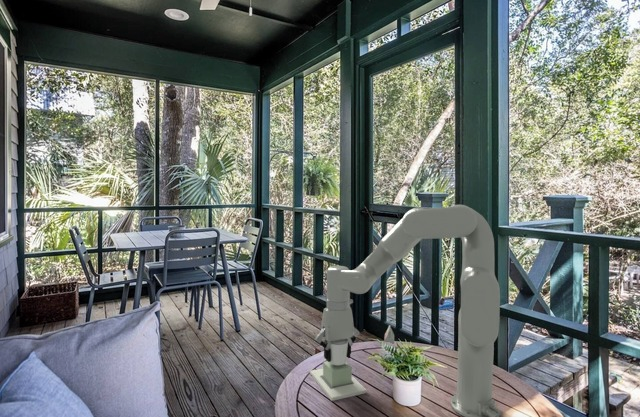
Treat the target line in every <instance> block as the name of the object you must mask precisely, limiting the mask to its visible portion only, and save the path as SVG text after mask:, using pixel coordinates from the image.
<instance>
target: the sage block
mask: <svg viewBox="0 0 640 417" xmlns="http://www.w3.org/2000/svg"><path fill="white" fill-rule="evenodd" d="M322 366H323V367H322V368H323V377H324V378H325V379H326V380H327V382H328V383H329V384H330V385H331V386H332V387H333V386H338V385H342V384H347V383H352V376H353V375H352V374H353V370H352V369H353V368H352V366H351V365H350V364H349V363H348V362H347V361H346V363H345V364H343V365H333V364H331V363H329V362H328V361H327V360H326V361H323V363H322Z"/></svg>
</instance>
